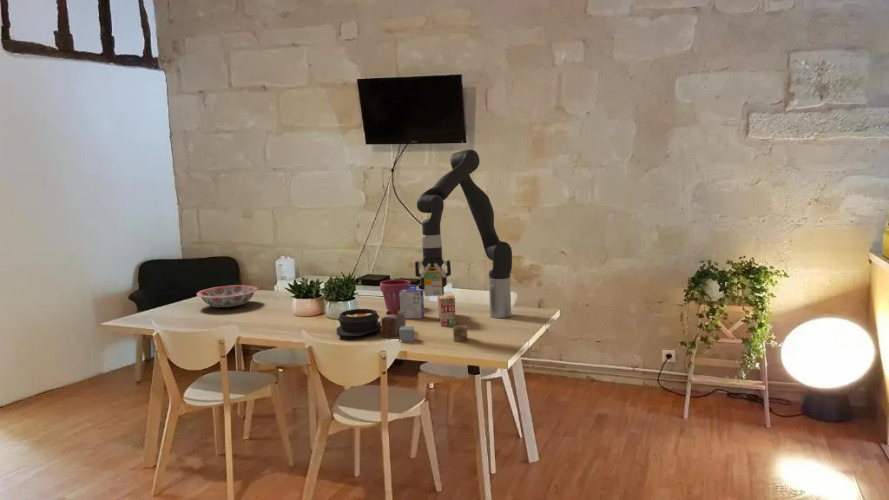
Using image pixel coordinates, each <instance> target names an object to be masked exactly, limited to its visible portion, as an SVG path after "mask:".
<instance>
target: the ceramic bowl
mask: <svg viewBox="0 0 889 500" xmlns="http://www.w3.org/2000/svg"><path fill="white" fill-rule="evenodd" d="M258 290H259V289H258V287H257V286H255V285H254V286H253V285H249V284H247V285H246V284H240V285H239V284H235V285H223V286H222V285H221V286H216V287H215V286H214V287H210V288H206V289H201V290H199V291H198V292H196V296H197V297H200V298H201V300H202V301H203V302H204V303H205V304H207V305H209V306H211V307H215V308H220V307H225V308H233V306H234V307H239V306H242V305H244V304H246V303H247V302H249V301H250V300H251V299H252V297H253V296H254V294H255V292H257V291H258ZM238 305H239V306H238Z"/></svg>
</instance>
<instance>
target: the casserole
mask: <svg viewBox="0 0 889 500" xmlns="http://www.w3.org/2000/svg"><path fill="white" fill-rule="evenodd" d="M379 319H380V316H379V314H378V312H377V310H374V309H371V308H369V309H368V308H355V309H354V308H353V309H349V310H344V311H341V312H340V314H339V317H338V318H337V322H339V324H340V325H339V326H338V327H337V328H336V330H335V331H336V335H337V336H340V337H341V336H342V337H362V336H366V335H371V334H373V333H375V332H377V331H380V330H381V321H379Z"/></svg>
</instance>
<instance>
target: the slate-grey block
mask: <svg viewBox="0 0 889 500" xmlns="http://www.w3.org/2000/svg"><path fill="white" fill-rule="evenodd" d="M414 329H415V328H414V326H406V325H405V326H404V327H400V329H399V334H398V335H399V336H398V337H399V341H400V340H401V341H402V342H401V343H413V342H414V340H415V331H414Z"/></svg>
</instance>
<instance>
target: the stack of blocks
mask: <svg viewBox="0 0 889 500" xmlns="http://www.w3.org/2000/svg"><path fill="white" fill-rule="evenodd" d="M437 303H438V304H437V309H438V317H439V322H440V326H441V327H454V326H457V325H456V323H457V321H456V297H455V293H454V292H453V291H444V295H443V296H437Z"/></svg>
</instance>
